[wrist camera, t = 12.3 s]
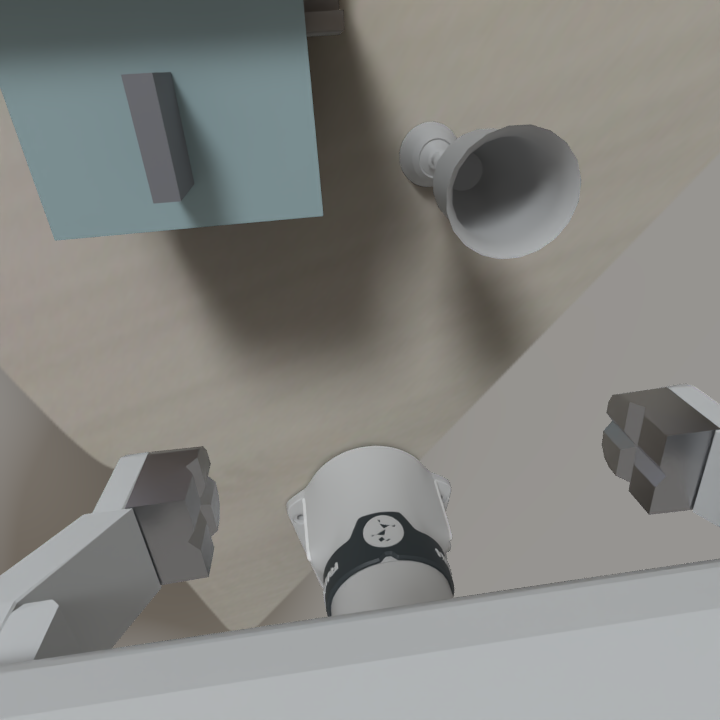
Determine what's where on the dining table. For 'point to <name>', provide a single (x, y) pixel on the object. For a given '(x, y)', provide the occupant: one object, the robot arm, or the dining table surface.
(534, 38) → the dining table surface
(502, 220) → the chalice
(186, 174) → the cabinet
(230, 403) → the dining table surface
